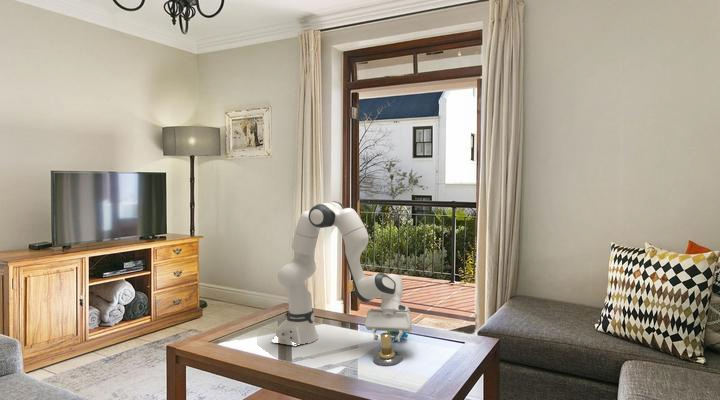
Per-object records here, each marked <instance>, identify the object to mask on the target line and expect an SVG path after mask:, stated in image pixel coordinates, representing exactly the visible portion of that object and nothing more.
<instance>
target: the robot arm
mask: <svg viewBox="0 0 720 400" xmlns="http://www.w3.org/2000/svg"><path fill="white" fill-rule="evenodd" d="M333 226H334V227H336V228H337V229H338V230H339V233H340V235H341V238H342V239H343V243H344V249H345V250H344V256H345V261H346V264H347V268H348V270H349V274H350V276H351V280H352V283H353V289H354V290H353V291H354V294H355V297H356V298H357V299H358V300H359V301H361V302H362V303H368V302H371V301H372V300H374V299H376V298H381V302H380V308H378V309H376V308H371V309H370V310H368V311H367V312H366V319H365V324H364V327H365V329H366V331H367V330H368V331H371V333H373V340H374V341H379V336H378V334H376V333H377V332H378V331H379V332H381V331H382V332H383V331H384V332H387V331H397V332H399V334H398V336H396V338H395V340H396V341H395V342H400V340H401V338H402V337H401V336H402V335H403V332H406V333H410V332H412V330H413V319H412V317H411V316H412V313H411V310H410V308H409V306H406V305H404V304H402V298H403V294H404V293H403V292H404V285H403V284H404V283H403V280H402V277H401V276H399V275H398V274H395V273H389V274H386V273H384V272H379V273H375V274H372V275H371V276H368V277H366V276H365V274H364V270H363V267H362V263H361V256H362V253H363V252H364V250H365V249H366V248H367V246H368V243H369V238H370V237H369V233H368V231H367V229H366V227H365V225H364V222H363V221H362V219H361V217H360V215H359V214H358V213H357V212H356V210H355V209H354V208H351V207H346V208H345V206H344V205H343V204H342V203H341V202H338V201H336V200H335V201H334V200H333V201H326V202H322V203H318V204H316V205H314V206H312V207H311V209H308V210H304V211H303V212H301V213H300V216H299V218H298V221H297V223H296V226H295V230H294V235H293V238H292V244H291V248H292V251H293V259H292V260H291V261H290V262H288V263H286V264H284V265H283V266H282V267H281V268H280V269H279V271H278V274H277V279H278V282H279V284H281V286H283V287H284V289H285V293H286V296H287V300H288V308H289V309H288V311H287V312H286V313H285V314H284V317H286V318H285V319H284V321H282V322H281V323H280V324H279V325H278V326H277V327H276V330H275V335H276V336H277V337H279V338H282V339H285V340H289V341H292V342H294V343H296V344H294V345H298V344H304V345H306V344H305V343H308V344H311V343H313V342H315V341H317V340H318V339H317V338H319V335H318V333H317V330H316V325H315V312H314V308H313V303H312V302H313V301H312V294H311V291H309V290H308V288H307V285H306V280H308V279H310V278H311V277H312V276H313V275H314V274H315V272H316V270H317V263H316V261H315V253H316V252H315V251H316V246H317V242H318V237H319V234H320V230H321V228H322V229H323V228H329V227H333ZM316 339H317V340H316Z"/></svg>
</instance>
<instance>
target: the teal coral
mask: <svg viewBox="0 0 720 400" xmlns="http://www.w3.org/2000/svg"><path fill="white" fill-rule="evenodd" d="M386 333H391V337H392V336H393V340H392V343H395V342H397V341H396V340H395V338H396V336H398V334H399V332H397V331H386ZM408 337H409V334H408V333H407V332H403V335H402V336H401V337H400V338H402V339H408Z"/></svg>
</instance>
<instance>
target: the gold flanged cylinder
mask: <svg viewBox="0 0 720 400" xmlns="http://www.w3.org/2000/svg"><path fill="white" fill-rule="evenodd" d="M380 347H381V350H380V351H379V352H380V353H379V352H378V353H379V355H380V358H381V359H383V360H390V359H393V358H394V357H395V352H396V351H395V352H394V350H393V341H392V336H391V333H388V332H382V333H380Z"/></svg>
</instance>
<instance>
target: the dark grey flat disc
mask: <svg viewBox="0 0 720 400" xmlns="http://www.w3.org/2000/svg"><path fill="white" fill-rule="evenodd" d="M393 351H394V350H393ZM394 352H395V357H394V358H393V359H390V360H383V359H381V358H380V355H379V353H380V351H379V352H376V353H375V354H374V355H373V357H372V358H373V360H372V361H373V363H374V364H376V365H377V366H383V367H389V366H395V365H398V364H400V363H401V362H402V360H403V358H402V357H403V356H402V354H401V352H398V351H394Z"/></svg>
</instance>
